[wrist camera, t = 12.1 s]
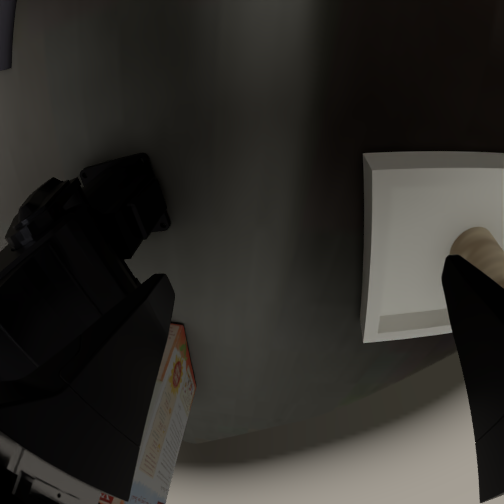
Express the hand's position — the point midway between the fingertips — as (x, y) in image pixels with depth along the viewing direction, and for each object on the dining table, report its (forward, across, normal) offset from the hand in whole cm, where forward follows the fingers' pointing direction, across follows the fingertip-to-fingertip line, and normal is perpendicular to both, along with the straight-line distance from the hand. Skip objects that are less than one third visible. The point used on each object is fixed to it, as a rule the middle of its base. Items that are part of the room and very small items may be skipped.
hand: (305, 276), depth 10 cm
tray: (+13, -12, +9) cm, 20 cm away
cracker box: (+13, +18, +23) cm, 32 cm away
